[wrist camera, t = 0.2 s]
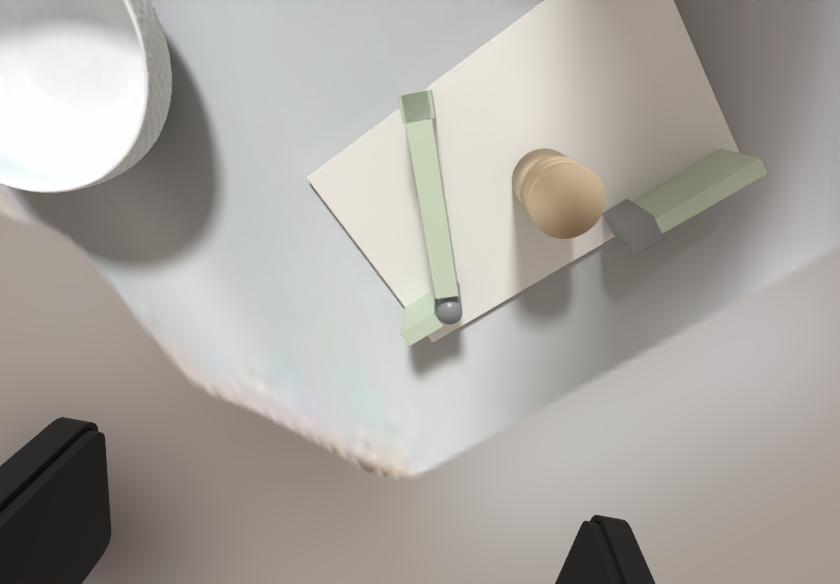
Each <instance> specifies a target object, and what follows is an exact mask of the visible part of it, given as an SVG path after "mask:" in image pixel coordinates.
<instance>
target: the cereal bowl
mask: <svg viewBox="0 0 840 584" xmlns="http://www.w3.org/2000/svg"><path fill="white" fill-rule="evenodd" d="M171 86H172V72H171V64H170V55H169V50H168V47H167V40H166V38H165V35H164V32H163V29H162V25H161V23H160V21H159V19H158V16H157V14H156V12H155V9H154V7H153V6H152V4H151V2H150V0H0V184H2V185H5V186H8V187H12V188H15V189H19V190H24V191H29V192H37V193H61V192H70V191H75V190H78V189H85V188H88V187H93V186H96V185H98V184H101V183H105V182H107V181H108V180H110V179H113V178H116V177H117V176H118V175H120V174H122V173H125V172H126V171H127V170H128V169H129V168H131V167H133V166H134V165H136V164H137V162H138V161H140V160H141V159H142V158H143V157H144V156H145V155H146V153H148V152H149V150H150V149H151V148H152V146H153V144H154V143H155V142H156V141H157V139H158V137H159V136H160V133H161V130H162V129H163V125H164V123H165V121H166V117H167V115H168V110H169V107H170V102H171V94H172V88H171Z"/></svg>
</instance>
